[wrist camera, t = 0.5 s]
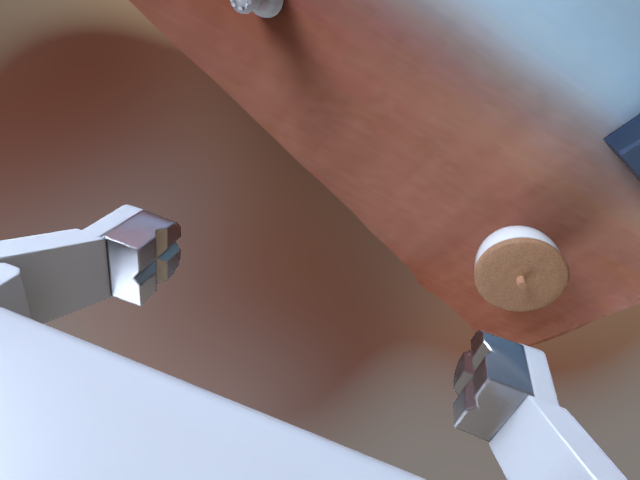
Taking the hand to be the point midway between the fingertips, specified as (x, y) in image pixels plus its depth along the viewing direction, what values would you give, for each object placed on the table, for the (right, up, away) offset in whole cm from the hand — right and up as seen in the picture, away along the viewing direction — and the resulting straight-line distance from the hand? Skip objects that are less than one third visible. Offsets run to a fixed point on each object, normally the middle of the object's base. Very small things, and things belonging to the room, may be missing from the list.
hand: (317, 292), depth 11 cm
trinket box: (+27, 0, +46) cm, 54 cm away
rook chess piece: (-6, +31, +39) cm, 50 cm away
